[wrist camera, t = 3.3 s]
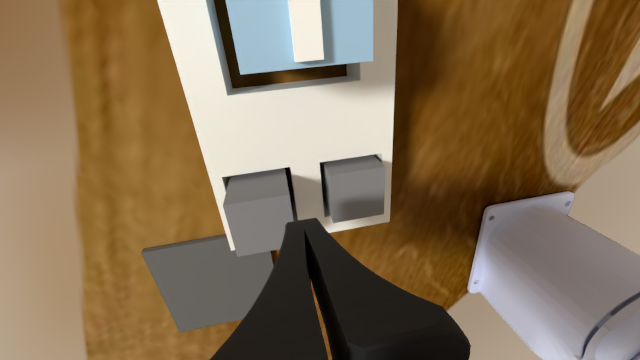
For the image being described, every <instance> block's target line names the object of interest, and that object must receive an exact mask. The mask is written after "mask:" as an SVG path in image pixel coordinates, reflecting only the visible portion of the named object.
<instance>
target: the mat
mask: <svg viewBox="0 0 640 360" xmlns="http://www.w3.org/2000/svg"><path fill="white" fill-rule="evenodd" d="M142 256H143V258H144V260H145V262H146V264H147V266H148V268H149V270H150V272H151V274H152V276H153V278H154V280H155V282H156V284H157V286H158V288H159V291H160V293H161V295H162V297H163V299H164V301H165V303H166V305H167V307H168V309H169V311H170V313H171V315H172V317H173V319H174V321H175V324H176V326H177V328H178V330H179V332H185V331H190V330H194V329H199V328H204V327H208V326H213V325H217V324H222V323H227V322H231V321H236V320H241V319H243V318H244V317H245V316H246V314H247V313H248V312H249V310H250V309H251V307H252V306H253V304H254V302H255V301H256V299H257V297H258V296H259V294H260V292H261V291H262V289H263V287H264V285H265V283H266V282H267V280H268V278H269V275H270V273H271V271H272V269H273V267H274V264H273V259H272V254H271V251H267V252H261V253H256V254H251V255H245V256H240V257H237V254H236V250H233V251H231V249H230V246H229V242H228V239H227V235H226V234H225V235H220V236H214V237H208V238H203V239H197V240H191V241H186V242H180V243H174V244H169V245H163V246H157V247H152V248H146V249H143V251H142Z"/></svg>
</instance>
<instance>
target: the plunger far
mask: <svg viewBox="0 0 640 360" xmlns="http://www.w3.org/2000/svg"><path fill="white" fill-rule="evenodd" d="M320 173H321V184H322V195H323V198H324V201H325V203H326V206H327V208H328V211H329V214H330V216H331V219H332V221H333V223H338V222H343V221H349V220H354V219H360V218H366V217H371V216H377V215H382V214H384V194H385V166H384V165H383V164H382V163H381V162H380V161H379V160H378V159H377V158H376V157H375V156H374V155H367V156H360V157H353V158H347V159H340V160H333V161H327V162H320Z"/></svg>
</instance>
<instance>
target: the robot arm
mask: <svg viewBox="0 0 640 360" xmlns="http://www.w3.org/2000/svg"><path fill="white" fill-rule="evenodd" d="M574 197H575V195H574V193H572V192H570V191H567V192H561V193H556V194H550V195H545V196H540V197H534V198H529V199H523V200H518V201H513V202H507V203H502V204H496V205H491V206H488V207H487V208H486V209H485V211H484V215H483V220H482V224H481V229H480V233H479V238H478V242H477V247H476V251H475V256H474V260H473V265H472V270H471V274H470V279H469V283H468V288H467V289H468V291H469V292H470V293H477V292H480V293H481V294H482V295H483V296H484V297H485V299H486V300H487V301H488V302H489V303H490V304H491V305H492V307H494V309H495V310H496V311H497V312H498V313H499V314H500V316H501V317H502V318H503V319H504V320H505V321H506V322H507V323H508V325H509V326H510V327H511V328H512V329H513V330H514V331H515V332H516V333H517V335H518V336H519V337H520V338H521V339H522V340H523V341H524V343H525V344H526V345H527V346H528V347H529V348H530V349H531V350H532V351H533V352H534V353H535V354H536V355H538V356H539V357H540V358H541V359H543V360H640V255H638V254H636V253H635V252H633V251H631V250H629V249H627V248H626V247H624V246H622V245H620V244H618V243H617V242H615V241H613V240H611V239H609V238H607V237H605V236H604V235H602V234H600V233H598V232H597V231H595V230H593V229H591V228H589V227H588V226H586V225H584V224H582V223H580V222H578V221H577V220H575V219H573V218H571V217H569V216H568V213H569V210H570V208H571V205H572V203H573V200H574ZM310 278H311V280H310ZM311 281H312V285H313V288H314V291H315V295H316V298H317V301H318V304H319V308H320V311H321V314H322V318H323V321H324V324H325V328H326V332H327V336H328V341H329V346H330V350H331V355H332V360H468V359H469V356H470V343H469V341H468V339H467V337H466V336H465V334H464V333H463V331H462V330H461V329H460V327H459V326H458V325H457V323H456V322H455V321H454V320H453V318H452V317H451V316H450V315H449V314H448V313H447V312H446V310H445V309H444V308H443V307H442V306H439V305H437V304H434V303H432V302H429V301H427V300H425V299H422V298H420V297H417V296H415V295H413V294H411V293H409V292H407V291H405V290H403V289H401V288H399V287H397V286H395V285H393V284H392V283H390V282H388V281H386V280H385V279H383V278H381V277H380V276H378V275H377V274H375V273H374V272H372V271H371V270H369V269H368V268H366V267H365V266H364V265H362V264H361V263H360V262H359V261H357V260H356V259H355V258H354V257H352V256H351V255H350V254H349V253H348V252H347V251H346V250H345V249H344V248H343V247H341V246H340V245H339V243H338V242H337V241H336V240H335V239H334V238H333V237H332V236H331V235H330V234H329V233H328V232H327V231H326V229H325V228H324V227H323V226H322V224H321V223H320V222H319V220H318V219H317V218H310V219H304V220H298V221H293V222H287V224H286V225H285V233H284V238H283V242H282V245H281V248H280V251H279V254H278V257H277V259H276V262H275V264H274V267H273V269H272V271H271V273H270V275H269V278H268V280H267V282H266V283H265V285H264V287H263V289H262V291H261V292H260V294H259V296H258V297H257V299H256V301H255V302H254V304H253V306H252V307H251V309H250V310H249V312H248V313H247V314H246V316H245V317H244V318H243V320H242V321H241V322H240V324H239V325H238V327H237V328H236V329H235V331H234V332H233V333H232V334H231V336H230V337H229V338H228V339H227V340H226V342H225V343H224V344H223V345H222V346H221V347H220V348H219V350H218V351H217V352H216V353H215V354H214V355H213V357H212V358H211V359H210V360H328V356H327V351H326V347H325V343H324V339H323V335H322V331H321V327H320V323H319V319H318V315H317V311H316V306H315V302H314V298H313V293H312V289H311Z"/></svg>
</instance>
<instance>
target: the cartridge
mask: <svg viewBox="0 0 640 360" xmlns="http://www.w3.org/2000/svg"><path fill="white" fill-rule="evenodd" d="M226 5H227V10H228V15H229V20H230V25H231V30H232V35H233V40H234V45H235V50H236V55H237V60H238V65H239V70H240V75H242V74H252V73H261V72H271V71H281V70H290V69H300V68H309V67H319V66H329V65H338V64H348V63H357V62H367V61H373V0H226Z"/></svg>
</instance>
